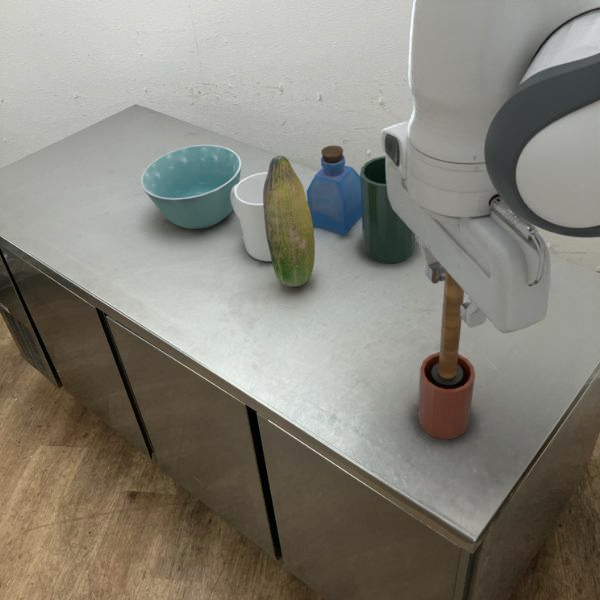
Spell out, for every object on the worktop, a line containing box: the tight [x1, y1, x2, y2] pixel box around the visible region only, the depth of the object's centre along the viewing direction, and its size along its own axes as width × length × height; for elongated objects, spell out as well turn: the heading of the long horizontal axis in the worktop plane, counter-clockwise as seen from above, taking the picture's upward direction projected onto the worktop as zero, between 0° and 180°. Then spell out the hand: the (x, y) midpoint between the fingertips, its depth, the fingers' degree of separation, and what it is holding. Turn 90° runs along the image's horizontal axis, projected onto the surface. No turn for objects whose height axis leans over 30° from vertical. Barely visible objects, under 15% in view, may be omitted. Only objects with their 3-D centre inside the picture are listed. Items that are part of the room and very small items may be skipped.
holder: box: [417, 351, 476, 440], centre depth 69 cm, size 5×5×8 cm
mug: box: [230, 171, 272, 262], centre depth 95 cm, size 12×8×10 cm
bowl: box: [140, 144, 242, 230], centre depth 103 cm, size 16×16×8 cm
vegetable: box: [263, 155, 316, 288], centre depth 83 cm, size 6×6×20 cm
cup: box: [359, 155, 416, 265], centre depth 90 cm, size 7×8×13 cm
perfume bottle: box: [305, 144, 362, 236], centre depth 97 cm, size 6×6×12 cm
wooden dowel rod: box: [431, 270, 465, 389], centre depth 63 cm, size 3×3×22 cm
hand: (453, 298), depth 59 cm, fingers open, 5 cm apart
